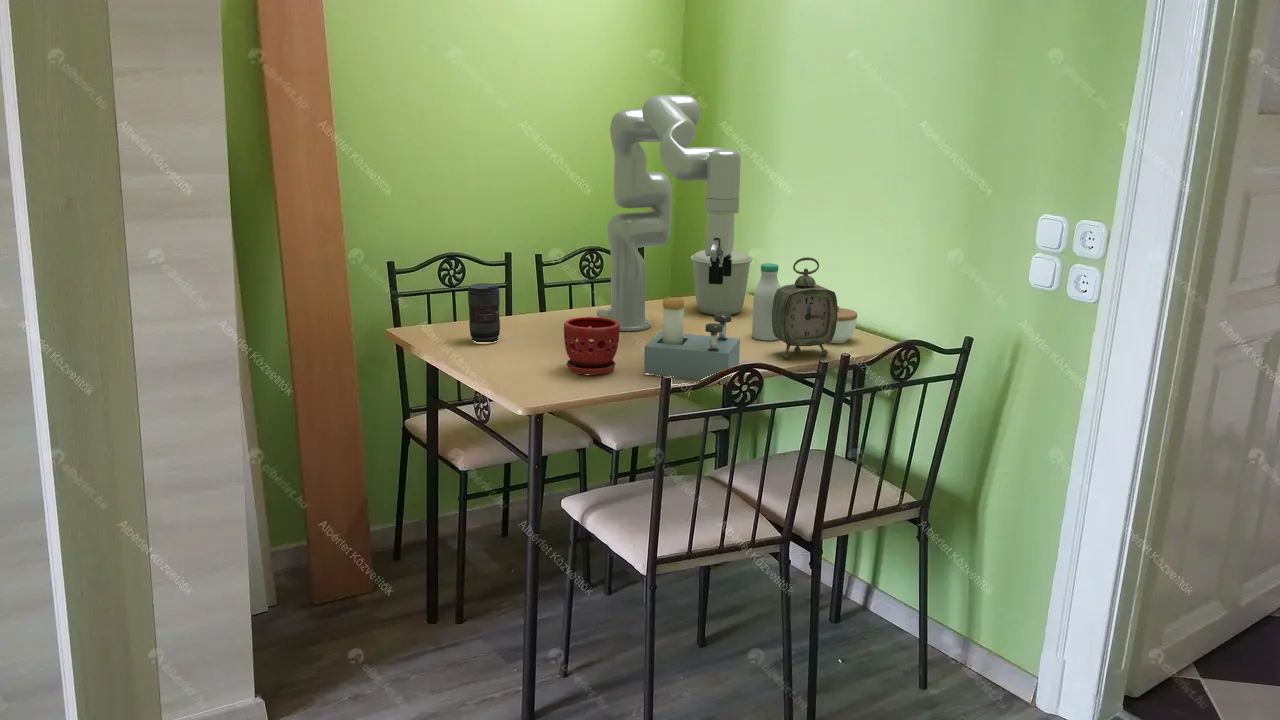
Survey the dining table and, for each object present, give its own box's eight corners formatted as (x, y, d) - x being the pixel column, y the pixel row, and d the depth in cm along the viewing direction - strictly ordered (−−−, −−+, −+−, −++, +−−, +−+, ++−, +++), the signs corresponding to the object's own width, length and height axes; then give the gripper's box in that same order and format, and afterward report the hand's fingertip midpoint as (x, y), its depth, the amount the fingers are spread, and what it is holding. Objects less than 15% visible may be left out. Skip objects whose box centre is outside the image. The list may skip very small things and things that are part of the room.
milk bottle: (779, 342, 265) (783, 267, 259) (750, 340, 267) (753, 266, 261) (781, 334, 272) (785, 262, 267) (753, 333, 274) (756, 261, 268)
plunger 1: (702, 357, 230) (703, 326, 228) (706, 352, 234) (707, 322, 232) (719, 358, 229) (721, 328, 227) (723, 354, 233) (724, 324, 231)
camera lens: (506, 339, 265) (505, 284, 261) (489, 346, 258) (488, 289, 254) (481, 335, 268) (479, 281, 264) (463, 343, 261) (461, 286, 257)
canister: (677, 313, 295) (679, 242, 289) (709, 302, 309) (711, 234, 303) (730, 322, 285) (733, 249, 279) (761, 310, 299) (764, 240, 294)
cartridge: (659, 358, 238) (660, 301, 234) (664, 353, 243) (665, 296, 239) (679, 360, 237) (681, 302, 233) (684, 354, 241) (686, 298, 238)
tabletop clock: (781, 361, 247) (786, 261, 240) (767, 351, 256) (771, 255, 249) (834, 357, 251) (841, 259, 244) (818, 348, 260) (824, 253, 253)
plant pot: (620, 377, 233) (621, 328, 230) (564, 378, 232) (563, 328, 229) (617, 362, 246) (618, 314, 242) (564, 362, 245) (563, 315, 241)
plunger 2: (712, 346, 239) (713, 316, 237) (715, 341, 243) (716, 313, 241) (728, 347, 238) (729, 318, 236) (731, 343, 242) (732, 314, 240)
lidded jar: (807, 337, 271) (809, 303, 268) (842, 333, 274) (844, 300, 271) (827, 347, 261) (829, 312, 258) (863, 343, 264) (865, 309, 262)
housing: (644, 374, 236) (644, 346, 234) (659, 359, 248) (660, 331, 246) (727, 382, 230) (728, 353, 228) (738, 366, 243) (740, 338, 241)
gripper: (714, 200, 236) (712, 272, 241) (697, 209, 220) (695, 286, 225) (745, 202, 234) (742, 274, 239) (731, 211, 218) (728, 288, 223)
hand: (720, 279), depth 232 cm, fingers open, 9 cm apart
